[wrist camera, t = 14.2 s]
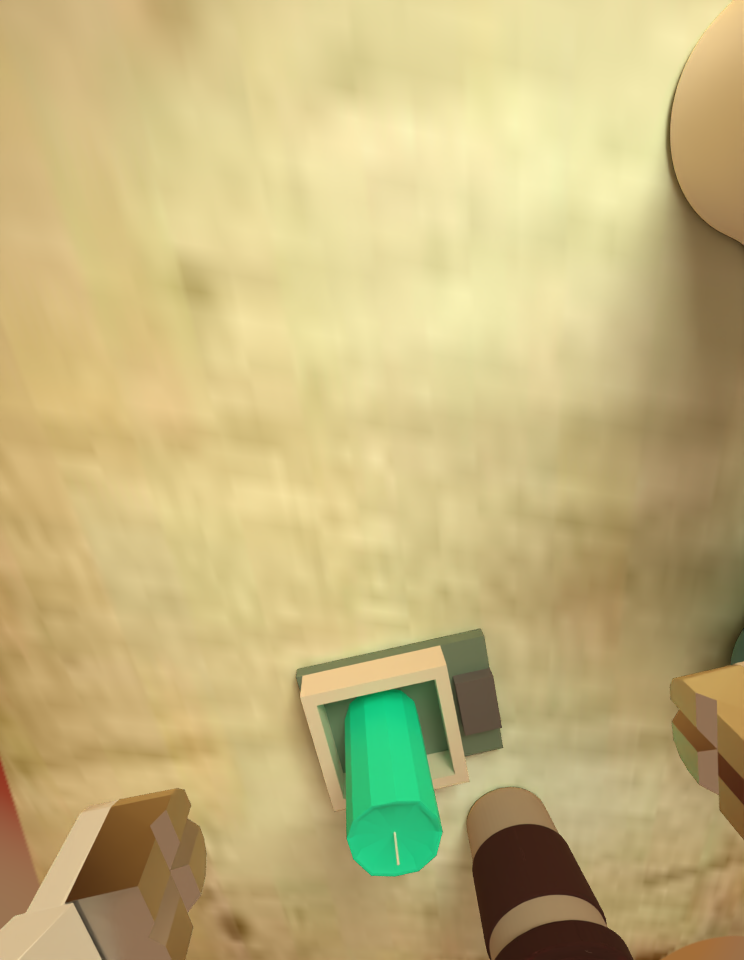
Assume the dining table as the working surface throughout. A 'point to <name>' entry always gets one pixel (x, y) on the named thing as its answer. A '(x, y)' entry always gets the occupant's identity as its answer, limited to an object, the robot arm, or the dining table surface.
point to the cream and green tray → (428, 682)
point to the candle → (389, 786)
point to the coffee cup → (533, 885)
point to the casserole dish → (738, 650)
